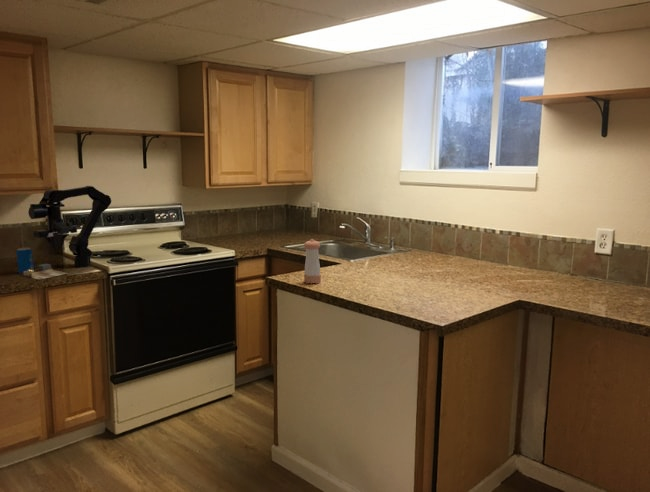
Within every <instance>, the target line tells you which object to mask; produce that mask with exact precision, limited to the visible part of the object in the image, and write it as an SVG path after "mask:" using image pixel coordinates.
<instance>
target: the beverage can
mask: <svg viewBox="0 0 650 492" xmlns="http://www.w3.org/2000/svg"><path fill="white" fill-rule="evenodd" d="M33 257H34V256H33V250H32V249H31V247H20V248H17V250H16V262H17V271H18V273H19V274H24V273H23V272H24V271H28V269H30V270H34V269H35V268H34V259H33Z"/></svg>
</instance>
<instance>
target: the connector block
mask: <svg viewBox="0 0 650 492" xmlns="http://www.w3.org/2000/svg"><path fill="white" fill-rule="evenodd" d="M37 269H38V272H39V271H44V270H49V269H52V265H51V264H50V263H43V264H41V263H40V264H38V265H37Z"/></svg>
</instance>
